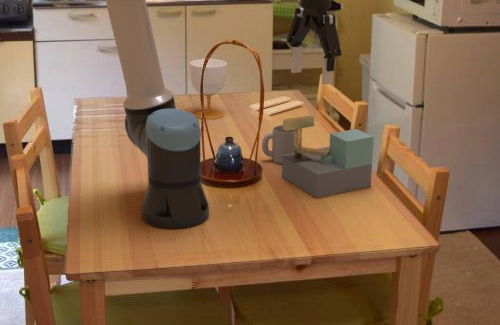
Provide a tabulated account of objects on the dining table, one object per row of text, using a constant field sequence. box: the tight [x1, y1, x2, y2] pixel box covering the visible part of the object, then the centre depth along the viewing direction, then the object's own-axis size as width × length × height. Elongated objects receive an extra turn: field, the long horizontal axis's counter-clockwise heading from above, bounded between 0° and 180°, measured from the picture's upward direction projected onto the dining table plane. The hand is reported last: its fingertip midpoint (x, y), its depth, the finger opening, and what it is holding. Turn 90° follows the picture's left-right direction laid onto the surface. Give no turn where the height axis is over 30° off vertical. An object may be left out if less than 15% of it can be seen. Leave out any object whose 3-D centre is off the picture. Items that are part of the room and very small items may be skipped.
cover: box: [320, 128, 375, 169], centre depth 198 cm, size 10×7×7 cm, turn 119°
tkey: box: [282, 115, 330, 158], centre depth 198 cm, size 10×8×10 cm
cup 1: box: [189, 58, 228, 120], centre depth 256 cm, size 12×12×17 cm
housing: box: [281, 146, 373, 199], centre depth 202 cm, size 16×16×6 cm
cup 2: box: [261, 124, 295, 165], centre depth 217 cm, size 7×10×9 cm
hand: (311, 78), depth 201 cm, fingers open, 13 cm apart
